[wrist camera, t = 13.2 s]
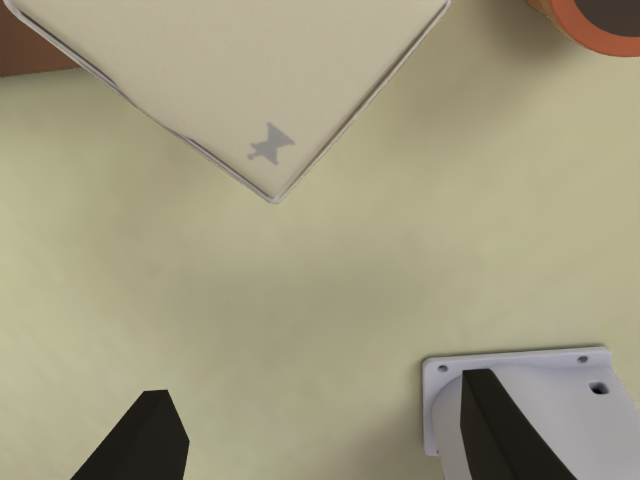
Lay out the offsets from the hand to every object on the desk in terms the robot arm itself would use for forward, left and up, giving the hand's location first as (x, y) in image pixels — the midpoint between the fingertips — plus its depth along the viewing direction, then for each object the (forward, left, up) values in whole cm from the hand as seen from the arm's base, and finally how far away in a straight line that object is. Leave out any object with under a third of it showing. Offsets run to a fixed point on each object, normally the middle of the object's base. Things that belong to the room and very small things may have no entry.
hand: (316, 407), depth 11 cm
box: (0, -9, -11) cm, 14 cm away
